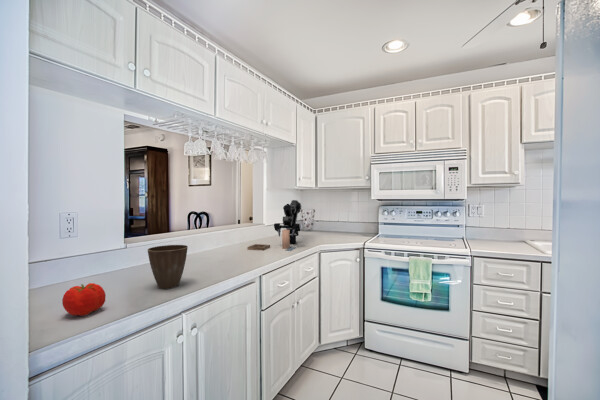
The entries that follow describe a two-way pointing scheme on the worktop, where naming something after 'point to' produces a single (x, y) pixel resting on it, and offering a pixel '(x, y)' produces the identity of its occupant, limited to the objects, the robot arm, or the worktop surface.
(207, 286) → the worktop surface
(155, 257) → the plant pot
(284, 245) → the terracotta peg
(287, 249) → the slate-blue mat
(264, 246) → the walnut puzzle board
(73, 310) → the tomato
